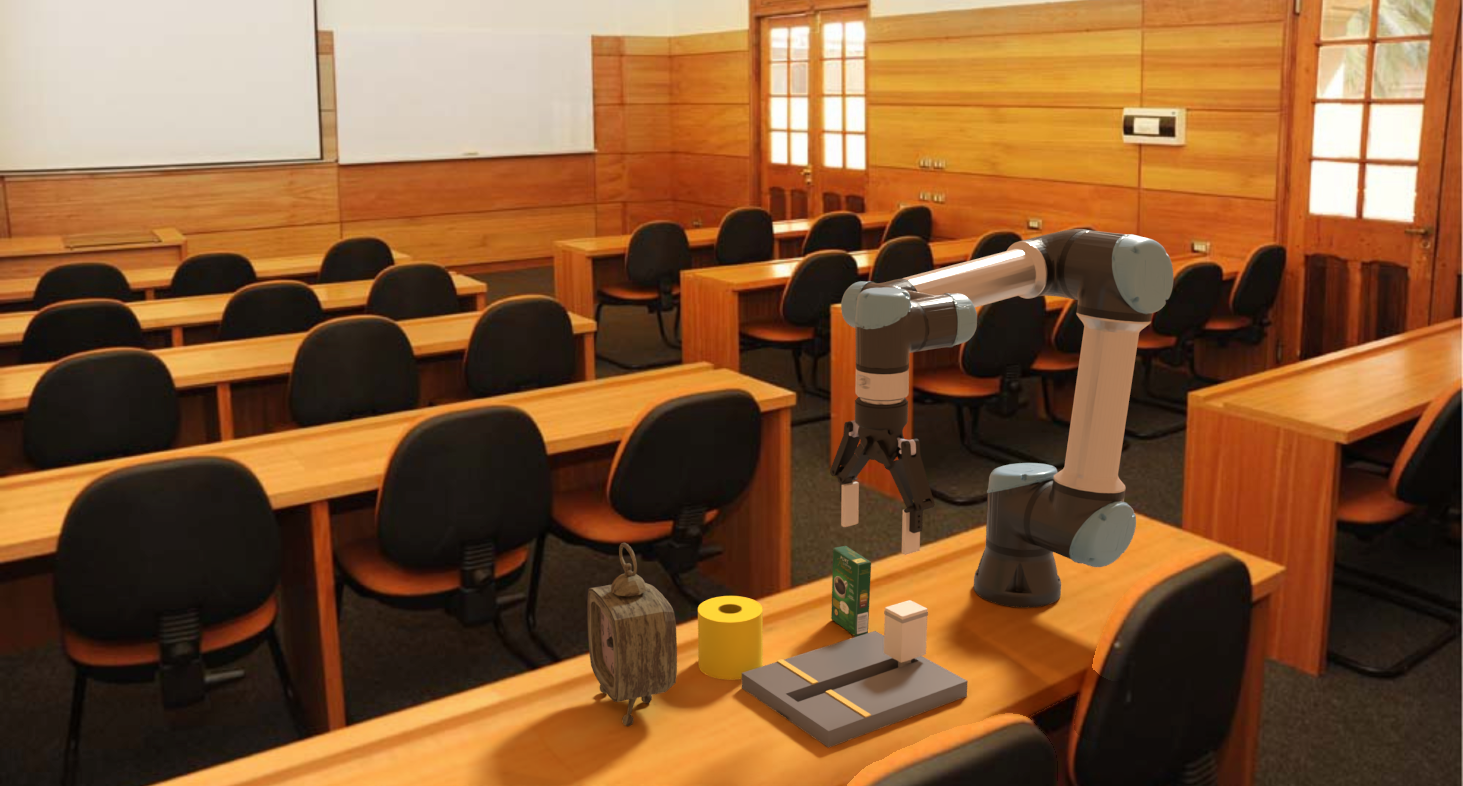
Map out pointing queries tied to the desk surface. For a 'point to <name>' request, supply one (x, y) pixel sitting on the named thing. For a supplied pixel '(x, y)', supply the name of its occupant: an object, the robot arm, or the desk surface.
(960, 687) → the fader console
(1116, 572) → the desk surface
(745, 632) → the yellow toilet paper roll
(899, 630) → the fader knob
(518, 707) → the desk surface
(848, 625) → the coffee box
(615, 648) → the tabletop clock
